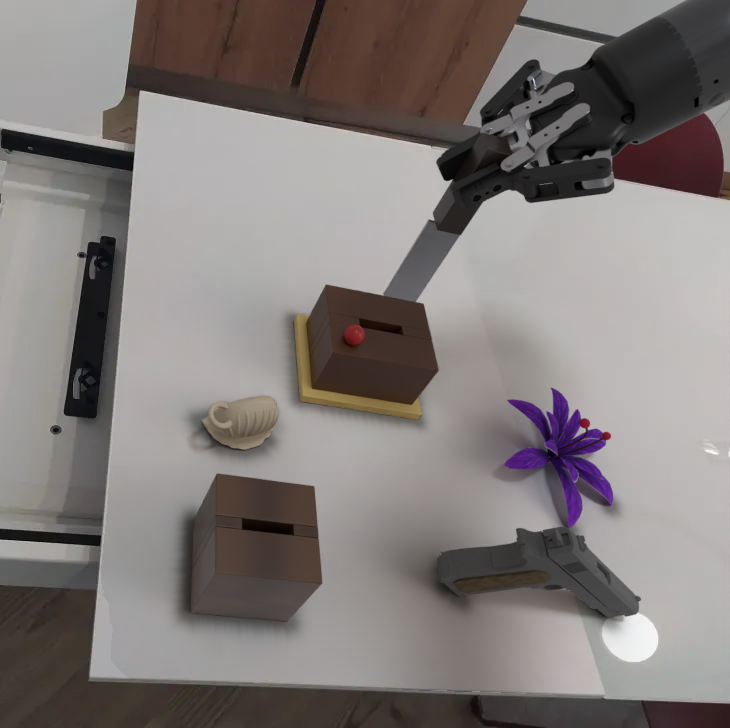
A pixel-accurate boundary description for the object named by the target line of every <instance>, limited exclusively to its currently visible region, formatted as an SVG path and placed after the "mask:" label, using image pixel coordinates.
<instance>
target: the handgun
mask: <svg viewBox="0 0 730 728" xmlns="http://www.w3.org/2000/svg"><path fill="white" fill-rule="evenodd" d="M515 532H516V541H514V542H511V543H505V544H497V545H490V546H475V547H474V546H473V547H464V548H455V549H449V550H446V551H440V555H438V557H436V564H437V571H438V577H439V578H438V579H439V583H440V584H444V585H445V586H446V587H448V589H450V590H451V591H452V592H453V593H454V594H456V596H458V597H459V598H463V597H464V596H465V597H469V596H474V595H480V594H489V593H495V592H503V591H509V590H510V591H511V590H517V589H532V590H537V589H540V590H544V591H551V592H554V591H559V590H564V589H565V590H566V591H569V592H570V593H572V594H573V595H574V596H575V597H577V599H579V600H580V601H582V602H583V604H585V605H587V606H588V607H589V608H590V609H592V610H598V611H599V612H600V613H601V614H603V615H604V616H605V617H606V618H615V617H620V616H624V617H631V616H635V615H637V614H638V613H639V610H640V603H639V602H641V601H642V598H641V596H639V595H636V594H635V593H634V592H633V591H632V590H631V588H629V587H628V585H626V584H625V583H624V582H623V581H622V580H621V579H620V578H619V577H618V576H617V575H616V574H615V572H613V571H612V570H611V569H610V568H609V567H608V566H607V565H606V564H605V563H604V562H603V561H602V560H601V559H600V558H599V557H598V556H597V555H596V554H595V553H594V552H593V551H592V550H591V549H590V548H589V547H588V545H587V543H585V542H586V537H585V536H584V535H579V534H576V533H574V531H573V530H571V528H569V527H566V526H565V525H563V526H557V527H551V528H546V529H542V530H538V531H531V530H528V529H526V528H523V527H517V528H516V529H515Z"/></svg>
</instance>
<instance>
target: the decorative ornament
mask: <svg viewBox="0 0 730 728" xmlns="http://www.w3.org/2000/svg"><path fill="white" fill-rule="evenodd" d="M279 417H280V410H279V406H278V402H277V401H276V399H275V398H274V397H273V396H270V395H259V396H251V397H245V398H240V399H237V400H233V401H230V402H224V401H216V402H213V403H212V404H210V406H209V407H208V410H207V416H206V417H205V418H203V419H201V422H202V424H203V425H204V427H205V429H206V430H207V432H208V433H209V434H210V436H211V437H212V438H213V440H215V441H217V442H218V443H220V444H221V445H222V446H228V447H229V448H231V449H239V450H242V451H247V450H249V449H252V448H256V447H259V446H261V445H263V443H264V441H265V440H266V439H267V438H270V437H271V434H272V432H273V431H274V430H275V428H276V425H277V423H278V421H279Z"/></svg>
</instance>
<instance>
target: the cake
mask: <svg viewBox="0 0 730 728" xmlns="http://www.w3.org/2000/svg"><path fill="white" fill-rule="evenodd" d="M293 327H294V341H295V353H296V367H297V380H298V394H299V395H298V396H299V401H300V402H303V403H310V404H316V405H322V406H329V407H335V408H341V409H347V410H352V411H353V410H354V411H359V412H365V413H366V412H367V413H373V414H379V415H384V416H392V417H398V418H405V419H411V420H417V421H418V420H420V418H421V417H422V416H423V412H422V407H421V406H422V405H421V401H420V395H421V394H422V393H423V392H424V391H425V389H426V388H427V387H428V385H429V384H430V383H431V381H432V380H433V379H434V378H435V377H436V375H437V374H438V373H439V371H440V369H439V365H438V359H437V356H436V352H435V347H434V342H433V337H432V333H431V329H430V324H429V321H428V316H427V311H426V307H425V304H424V303H423V302H418V301H416V302H414V301H409V300H403V299H398V298H393V297H388V296H384V294H383V295H382V294H378V293H373V292H367V291H363V290H362V291H361V290H357V289H352V288H347V287H343V286H342V287H341V286H337V285H332V284H328V283H327V284H325V285H324V286H323V289H322V291H321V293H320V294H319V297H318V298H317V300H316V302H315V305H314V306H313V308H312V310H311V312H310V313H309V315H304V314H299V313H297V314H296V315H295V316H294V318H293Z"/></svg>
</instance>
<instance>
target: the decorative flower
mask: <svg viewBox="0 0 730 728" xmlns="http://www.w3.org/2000/svg"><path fill="white" fill-rule="evenodd" d="M550 390H551V394H552V412H551V411H548V410H546V415H545V413H544V412H543V411H542V409H541V408H539V407H538V406H537V405H535V404H534V403H532V402H529V401H526V400H523V399H515V398H511V399H506V401H507V403H508V404H510V405H511V406H513V407H514V408H515V409H516V410H517V411H519V412H520V413H522V414H523V415H524V416H525V417H526V418H527V419H528V420H529V421H530V422H531V423H532V424H533V425H534V426H535V427H536V429H538V431H539V432H540V434H541V436H542V438H543V441H544V443H543V446H544V447H545V448H546V450H545V449H543V448H538V447H525V448H523V449H521V450H519V451H518V452H516V453H514V454H513V455H512V456H510V457H509V458H508V459H507V460H506V461H505V463H504V465H503V467H504V468H507V469H511V470H534V469H535V470H537V469H539V468H542V467H545V466H546V465H548V464H549V463H551V465H552V467H553V468H554V470H555V471H556V473H557V476H558V479H559V482H560V484H561V487H562V490H563V494H564V498H565V503H566V508H567V525H568V529H571V528H572V527H574V526H575V524H576V523H577V522H578V520H579V519H580V517H581V514H582V512H583V498H582V496H581V493H580V492H579V489H578V487H577V485H576V483H577V482H578V481H579V480H578V479H579V478H580V479H581V480H582V481H584V482H585V483H587V484H588V485H589V486H590V487H592V488H593V489H594V490H595V491H597V492H598V493H599V494H600V495H601V496H602V497H604V498H605V499H606V500H607V501H608V503H609V505H610V506H613V503H614V491H613V488H612V485H611V482H609V480H608V479H607V478H606V477H605V476H604V475H603V474H602V472H601V469H599V467H598V466H597V464H594V463H593V462H592V461H590V460H588V459H585V458H582V457H580V456H581V455H588V454H589V455H590V454H593V453H596V452H598V451H600V450H602V449H603V448H604V447H606V445H607V441H609V440H611V438H612V434H611V433H610V432H609V431H604V432H603V431H602V430H600V429H598V428H591V429H589V427H590V426H591V421H590V420H589V419H588V418H586V417H583V418H582V416H581V412H580V410H579V408H576V409H575V410H574V411H573V412H572V414H571V416H570V417H569V415H570V407H569V406H570V405H569V402H568V400H567V398H566V397H565V396H564V394H563V393H561V391H559V390H558V389H556V388H554V387H550ZM546 416H547V417H546ZM580 428H582V429H585V432H582V433H581V434H579V435H577V433H579V431H580ZM576 435H577V436H576ZM566 470H567V471H568V472H569V473H568V472H567V471H566ZM569 474H570V475H569Z"/></svg>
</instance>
